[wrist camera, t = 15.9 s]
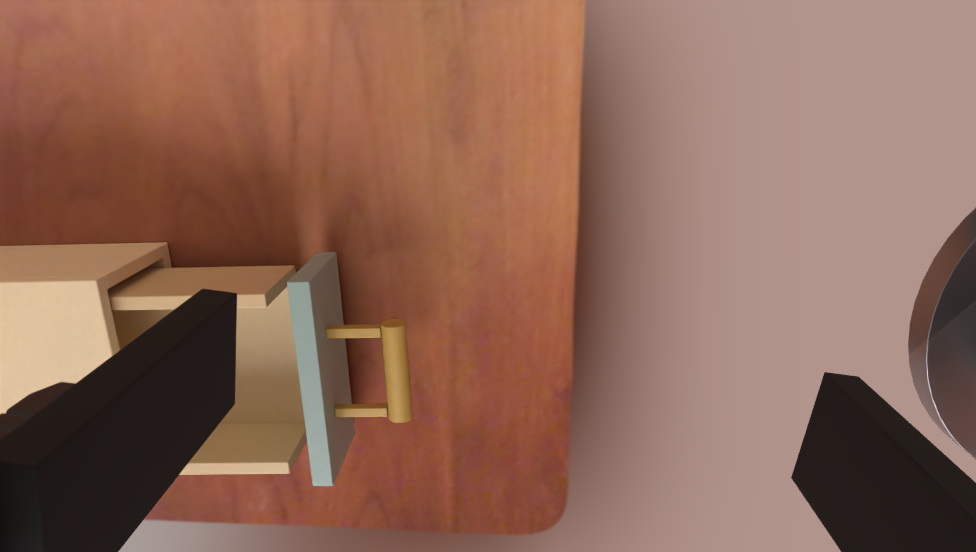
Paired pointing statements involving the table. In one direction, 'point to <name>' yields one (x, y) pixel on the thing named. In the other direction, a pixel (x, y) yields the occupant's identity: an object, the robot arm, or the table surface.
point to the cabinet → (61, 310)
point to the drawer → (276, 363)
